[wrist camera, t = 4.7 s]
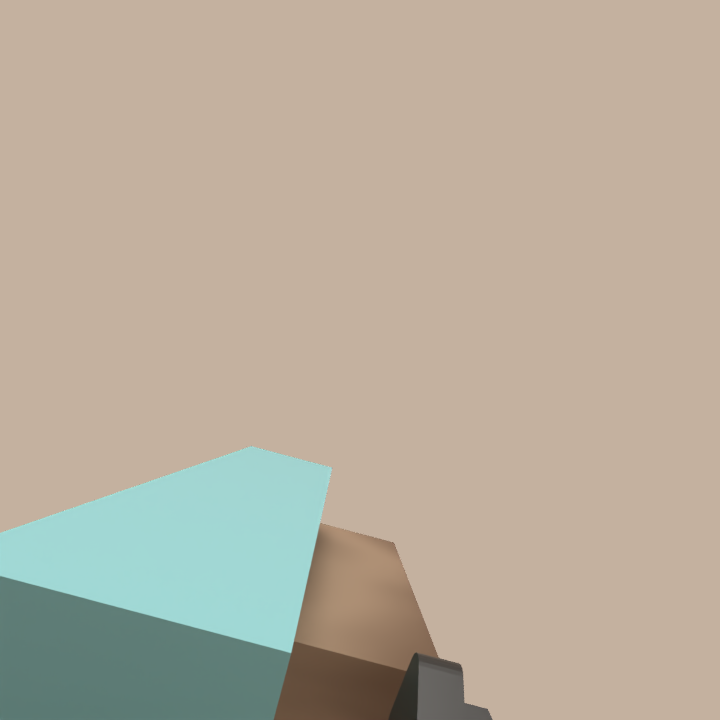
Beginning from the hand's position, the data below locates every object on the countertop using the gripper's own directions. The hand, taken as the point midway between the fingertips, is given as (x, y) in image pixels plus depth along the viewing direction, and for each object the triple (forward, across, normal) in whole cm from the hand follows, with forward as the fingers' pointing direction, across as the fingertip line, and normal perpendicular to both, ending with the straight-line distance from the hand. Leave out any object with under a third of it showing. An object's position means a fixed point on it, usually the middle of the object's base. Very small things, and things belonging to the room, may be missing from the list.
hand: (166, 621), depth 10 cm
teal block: (+6, 0, +6) cm, 9 cm away
